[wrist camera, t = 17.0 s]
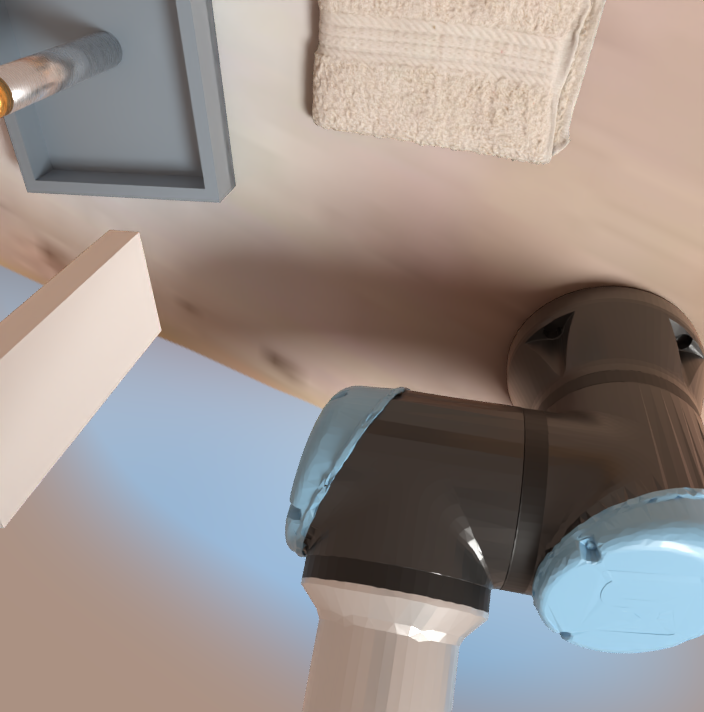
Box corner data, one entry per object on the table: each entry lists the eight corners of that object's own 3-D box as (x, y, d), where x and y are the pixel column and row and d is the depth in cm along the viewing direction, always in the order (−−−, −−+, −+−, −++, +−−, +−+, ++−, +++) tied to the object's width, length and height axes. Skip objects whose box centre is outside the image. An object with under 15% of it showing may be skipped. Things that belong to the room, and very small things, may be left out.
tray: (235, 185, 52) (219, 202, 49) (52, 176, 55) (27, 192, 52) (194, -129, 41) (171, -131, 38) (-34, -120, 44) (-72, -121, 41)
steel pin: (125, 67, 48) (6, 123, 36) (95, 67, 48) (-33, 121, 37) (118, 31, 46) (-9, 76, 35) (86, 30, 47) (-49, 75, 35)
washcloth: (561, 157, 47) (564, 173, 44) (314, 124, 49) (303, 136, 46) (613, -37, 40) (619, -32, 37) (321, -67, 42) (309, -64, 39)
